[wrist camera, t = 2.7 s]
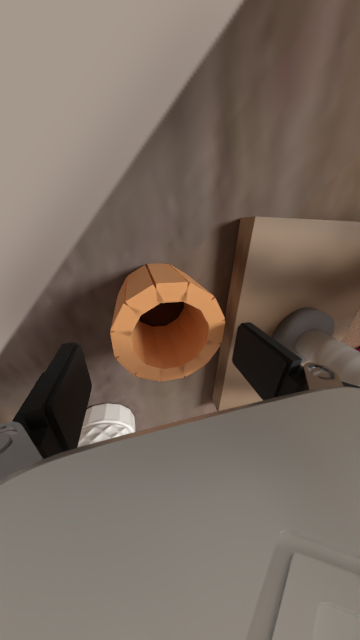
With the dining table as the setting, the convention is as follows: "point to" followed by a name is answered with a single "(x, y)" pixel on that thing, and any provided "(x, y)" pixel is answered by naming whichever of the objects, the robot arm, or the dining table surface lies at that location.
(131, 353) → the ring
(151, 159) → the dining table surface
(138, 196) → the dining table surface
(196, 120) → the dining table surface
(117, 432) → the white cup
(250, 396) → the post board
